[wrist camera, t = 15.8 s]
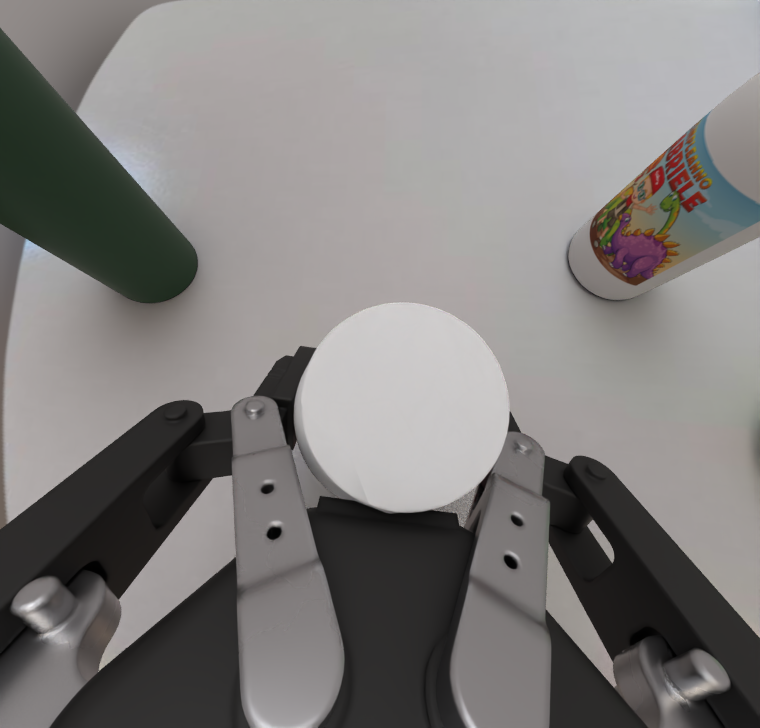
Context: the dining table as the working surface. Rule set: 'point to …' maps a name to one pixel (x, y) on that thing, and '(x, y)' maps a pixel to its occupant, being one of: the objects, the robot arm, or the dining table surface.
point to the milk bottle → (679, 206)
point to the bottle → (80, 193)
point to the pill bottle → (401, 409)
